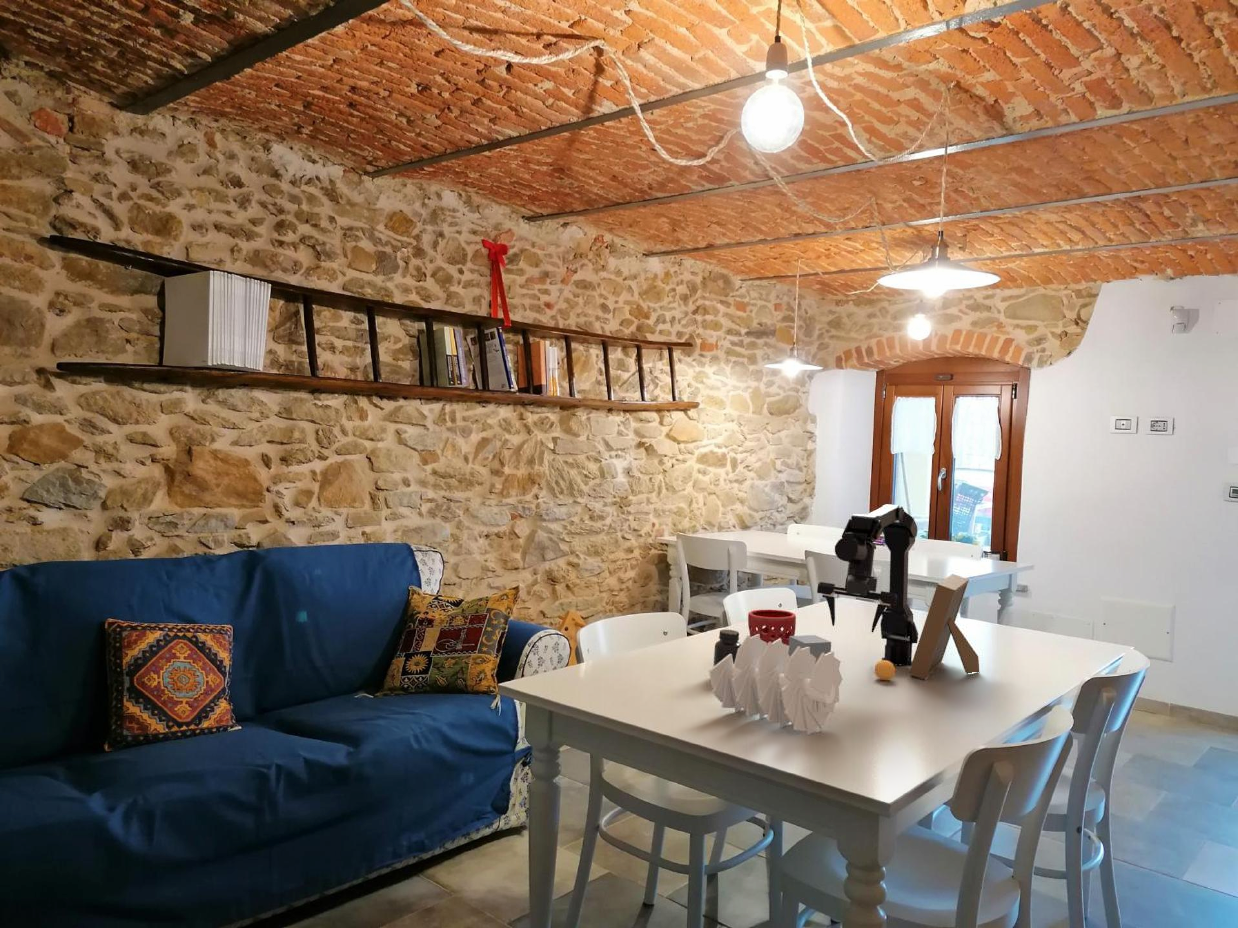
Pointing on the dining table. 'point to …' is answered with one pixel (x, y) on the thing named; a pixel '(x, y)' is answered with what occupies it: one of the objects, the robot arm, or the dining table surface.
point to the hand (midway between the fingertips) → (852, 629)
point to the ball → (885, 670)
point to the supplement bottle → (726, 645)
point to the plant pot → (772, 625)
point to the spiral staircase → (778, 683)
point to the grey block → (810, 644)
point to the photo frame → (943, 630)
